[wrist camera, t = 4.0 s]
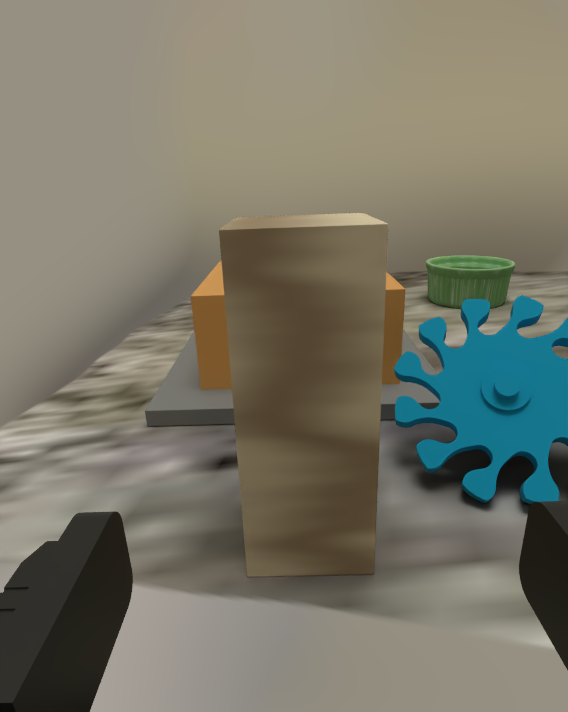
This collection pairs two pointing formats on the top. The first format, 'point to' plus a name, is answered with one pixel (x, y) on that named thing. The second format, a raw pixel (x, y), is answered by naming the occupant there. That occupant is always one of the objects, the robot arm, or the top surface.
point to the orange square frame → (212, 364)
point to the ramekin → (468, 279)
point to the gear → (492, 397)
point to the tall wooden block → (306, 387)
